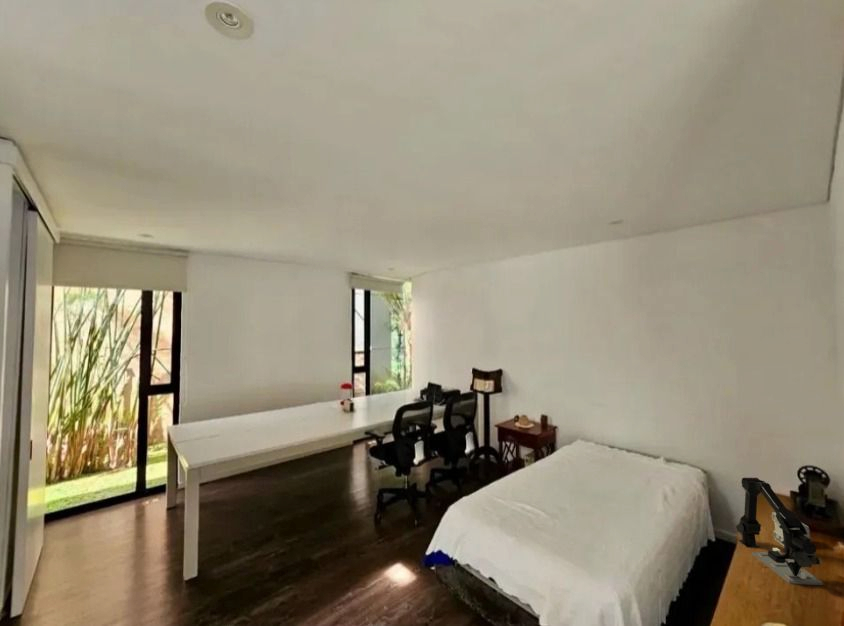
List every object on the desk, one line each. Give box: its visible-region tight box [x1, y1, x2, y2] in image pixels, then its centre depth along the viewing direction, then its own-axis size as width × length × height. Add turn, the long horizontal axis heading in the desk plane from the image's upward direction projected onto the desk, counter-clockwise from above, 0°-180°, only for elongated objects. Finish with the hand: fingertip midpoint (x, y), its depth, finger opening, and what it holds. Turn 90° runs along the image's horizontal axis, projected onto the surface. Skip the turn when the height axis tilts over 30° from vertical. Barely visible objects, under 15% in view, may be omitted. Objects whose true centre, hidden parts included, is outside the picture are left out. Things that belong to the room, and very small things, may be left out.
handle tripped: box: [797, 569, 806, 579], centre depth 179 cm, size 2×2×3 cm
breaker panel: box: [751, 551, 824, 586], centre depth 187 cm, size 24×14×1 cm, turn 172°
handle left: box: [772, 547, 782, 554], centre depth 196 cm, size 2×2×3 cm
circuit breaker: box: [771, 511, 811, 547], centre depth 209 cm, size 8×14×15 cm, turn 78°
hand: (795, 575), depth 179 cm, fingers closed
